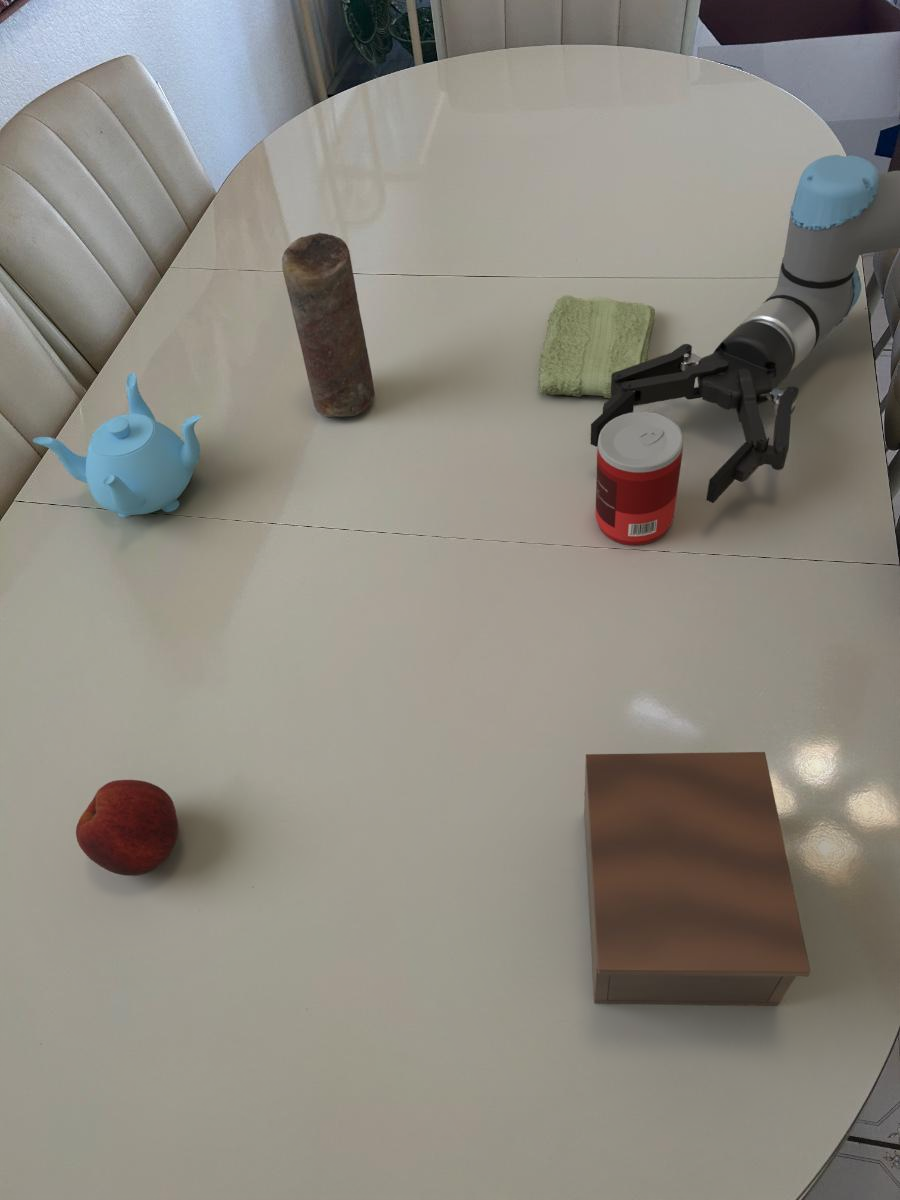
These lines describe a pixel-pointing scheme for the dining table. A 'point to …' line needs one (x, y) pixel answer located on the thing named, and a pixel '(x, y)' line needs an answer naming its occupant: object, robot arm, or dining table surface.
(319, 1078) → the dining table surface
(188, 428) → the teapot
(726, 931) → the lid
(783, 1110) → the dining table surface
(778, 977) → the chest
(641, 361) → the washcloth
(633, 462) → the canned food
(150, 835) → the apple
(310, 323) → the candle
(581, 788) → the dining table surface
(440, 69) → the dining table surface
